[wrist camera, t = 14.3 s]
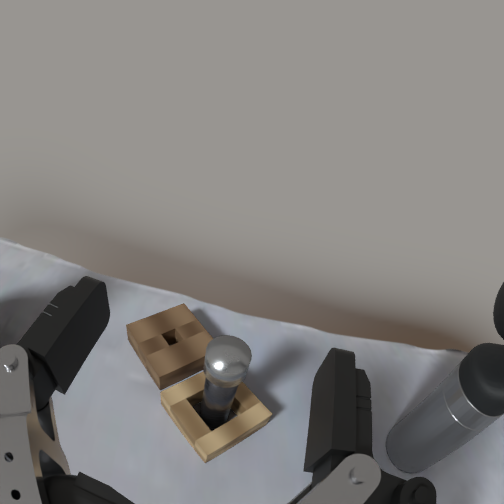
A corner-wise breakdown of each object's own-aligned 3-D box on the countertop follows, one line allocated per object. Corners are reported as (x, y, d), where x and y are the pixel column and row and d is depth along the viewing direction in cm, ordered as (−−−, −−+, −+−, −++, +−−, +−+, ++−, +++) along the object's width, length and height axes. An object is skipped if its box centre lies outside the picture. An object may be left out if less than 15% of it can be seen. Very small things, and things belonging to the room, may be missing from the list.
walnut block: (183, 318, 52) (184, 303, 50) (218, 361, 46) (221, 347, 44) (128, 339, 46) (126, 325, 44) (160, 390, 40) (159, 377, 38)
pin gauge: (216, 397, 41) (232, 329, 32) (236, 421, 39) (260, 358, 30) (190, 412, 38) (196, 346, 30) (209, 437, 36) (224, 379, 27)
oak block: (221, 374, 44) (224, 360, 42) (266, 424, 39) (272, 414, 37) (161, 404, 38) (160, 392, 36) (205, 463, 33) (207, 455, 31)
